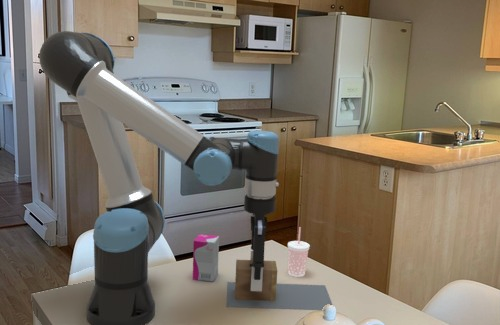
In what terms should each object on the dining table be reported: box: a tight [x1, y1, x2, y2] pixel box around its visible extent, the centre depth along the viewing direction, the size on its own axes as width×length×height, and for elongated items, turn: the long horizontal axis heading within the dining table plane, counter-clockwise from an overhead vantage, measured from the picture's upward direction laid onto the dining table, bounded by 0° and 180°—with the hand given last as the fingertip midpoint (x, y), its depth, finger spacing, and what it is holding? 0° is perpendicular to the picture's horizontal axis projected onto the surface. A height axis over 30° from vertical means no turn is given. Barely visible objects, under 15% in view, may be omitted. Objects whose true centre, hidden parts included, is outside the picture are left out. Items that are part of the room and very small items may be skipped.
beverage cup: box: [287, 226, 311, 278], centre depth 144 cm, size 6×6×14 cm
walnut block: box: [234, 259, 278, 301], centre depth 130 cm, size 10×6×8 cm, turn 92°
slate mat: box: [226, 281, 333, 311], centre depth 131 cm, size 26×14×1 cm, turn 92°
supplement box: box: [192, 233, 220, 283], centre depth 139 cm, size 6×6×12 cm
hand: (255, 282), depth 130 cm, fingers open, 8 cm apart
